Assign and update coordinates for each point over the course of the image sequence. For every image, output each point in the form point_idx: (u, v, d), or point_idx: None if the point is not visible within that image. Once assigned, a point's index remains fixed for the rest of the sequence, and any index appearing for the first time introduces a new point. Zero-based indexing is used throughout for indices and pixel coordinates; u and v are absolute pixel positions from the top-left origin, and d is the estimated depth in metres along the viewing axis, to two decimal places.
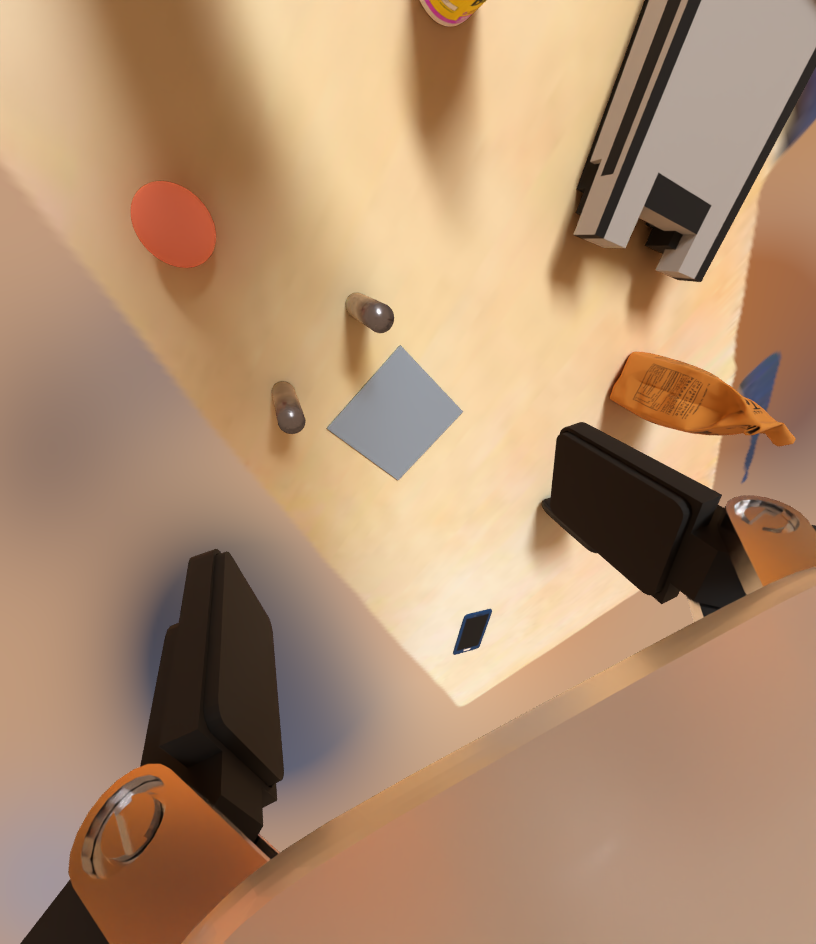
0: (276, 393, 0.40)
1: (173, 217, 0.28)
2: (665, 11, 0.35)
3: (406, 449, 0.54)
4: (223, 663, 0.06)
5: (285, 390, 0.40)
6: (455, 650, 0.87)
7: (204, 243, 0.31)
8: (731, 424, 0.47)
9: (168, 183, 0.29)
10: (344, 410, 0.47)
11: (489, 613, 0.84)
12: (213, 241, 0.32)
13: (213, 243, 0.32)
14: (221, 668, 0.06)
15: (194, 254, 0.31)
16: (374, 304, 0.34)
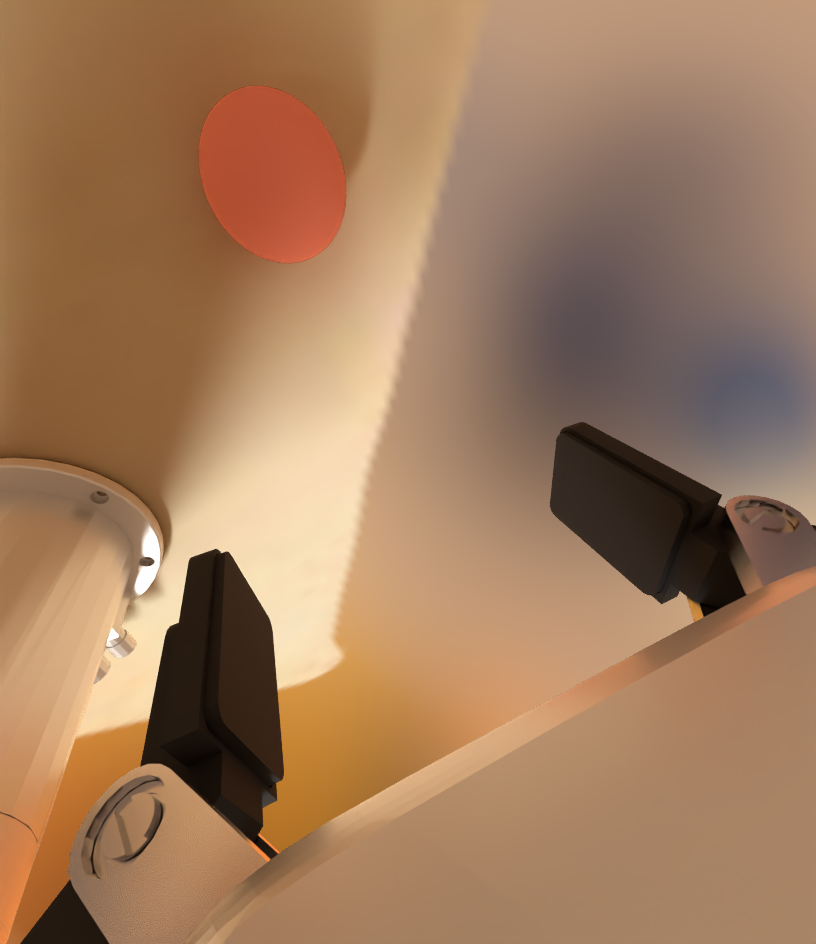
0: None
1: (266, 181, 0.14)
2: None
3: None
4: (223, 663, 0.06)
5: None
6: None
7: (243, 102, 0.13)
8: None
9: (238, 237, 0.16)
10: None
11: None
12: (223, 98, 0.14)
13: (227, 95, 0.14)
14: (221, 668, 0.06)
15: (278, 102, 0.14)
16: None
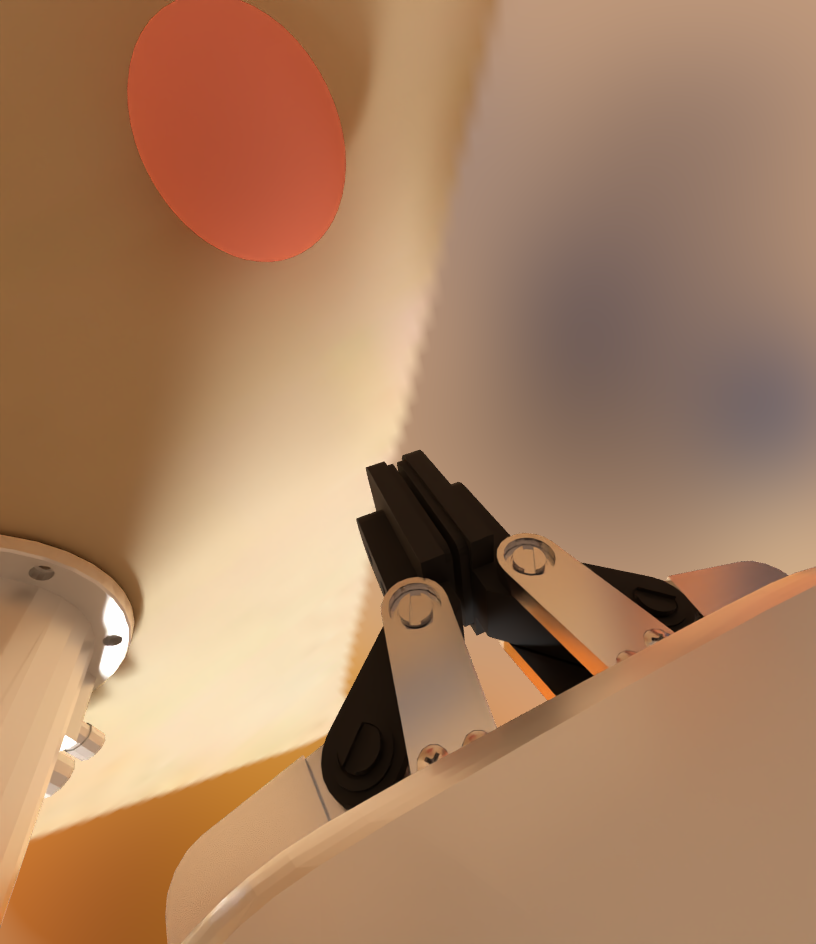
0: None
1: (227, 136, 0.09)
2: None
3: None
4: None
5: None
6: None
7: (185, 12, 0.09)
8: None
9: (195, 226, 0.11)
10: None
11: None
12: (157, 13, 0.09)
13: (163, 8, 0.09)
14: None
15: (240, 13, 0.09)
16: None
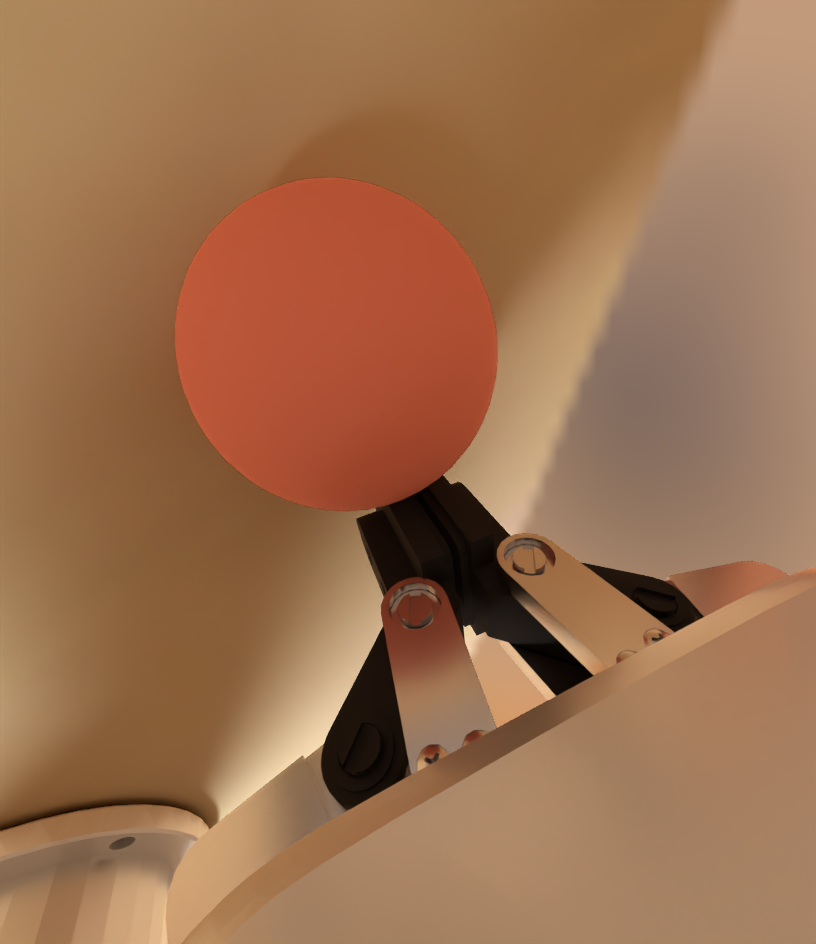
0: None
1: (292, 242, 0.05)
2: None
3: None
4: None
5: None
6: None
7: None
8: None
9: (249, 453, 0.06)
10: None
11: None
12: None
13: None
14: None
15: None
16: None
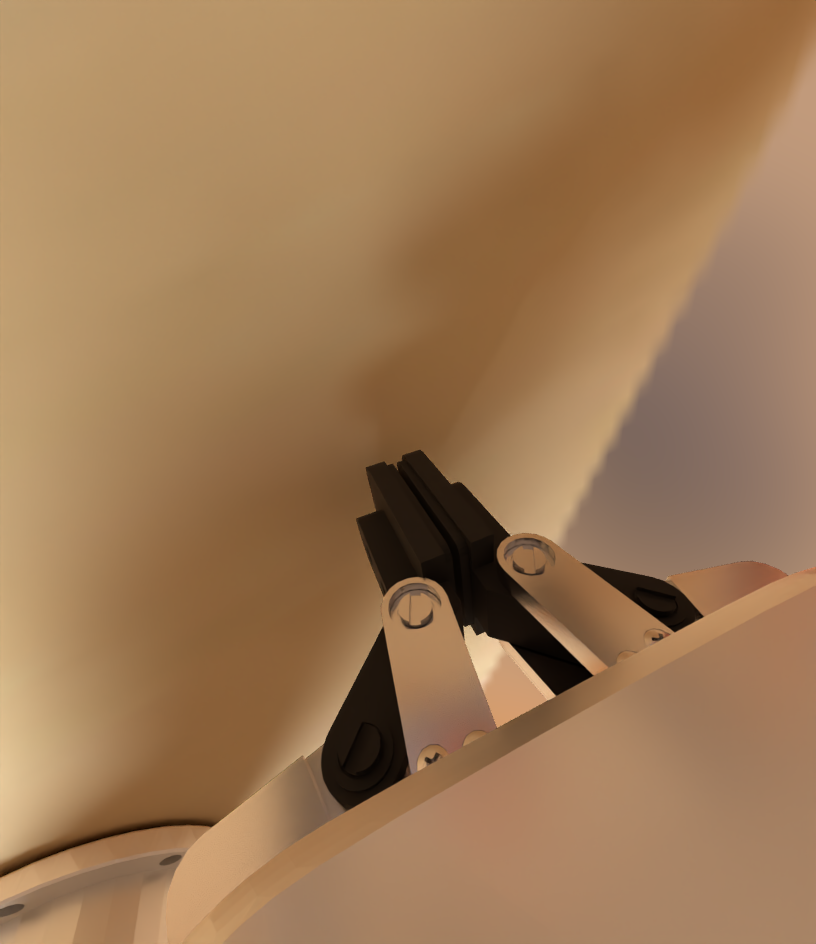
0: None
1: None
2: None
3: None
4: None
5: None
6: None
7: None
8: None
9: None
10: None
11: None
12: None
13: None
14: None
15: None
16: None
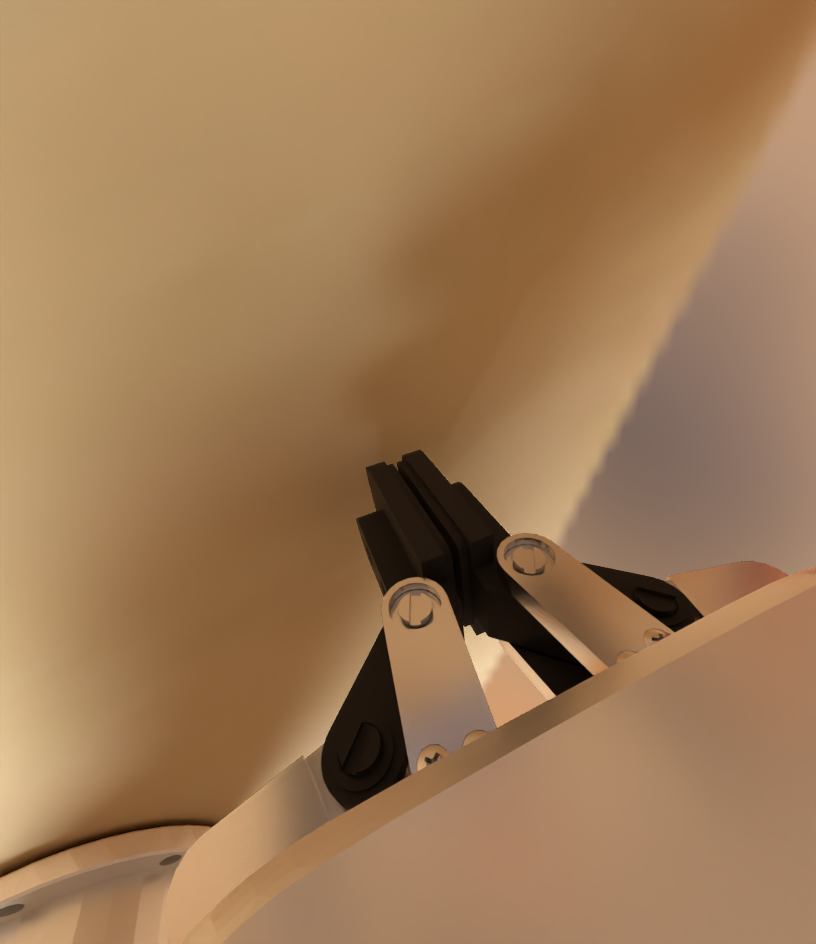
0: None
1: None
2: None
3: None
4: None
5: None
6: None
7: None
8: None
9: None
10: None
11: None
12: None
13: None
14: None
15: None
16: None
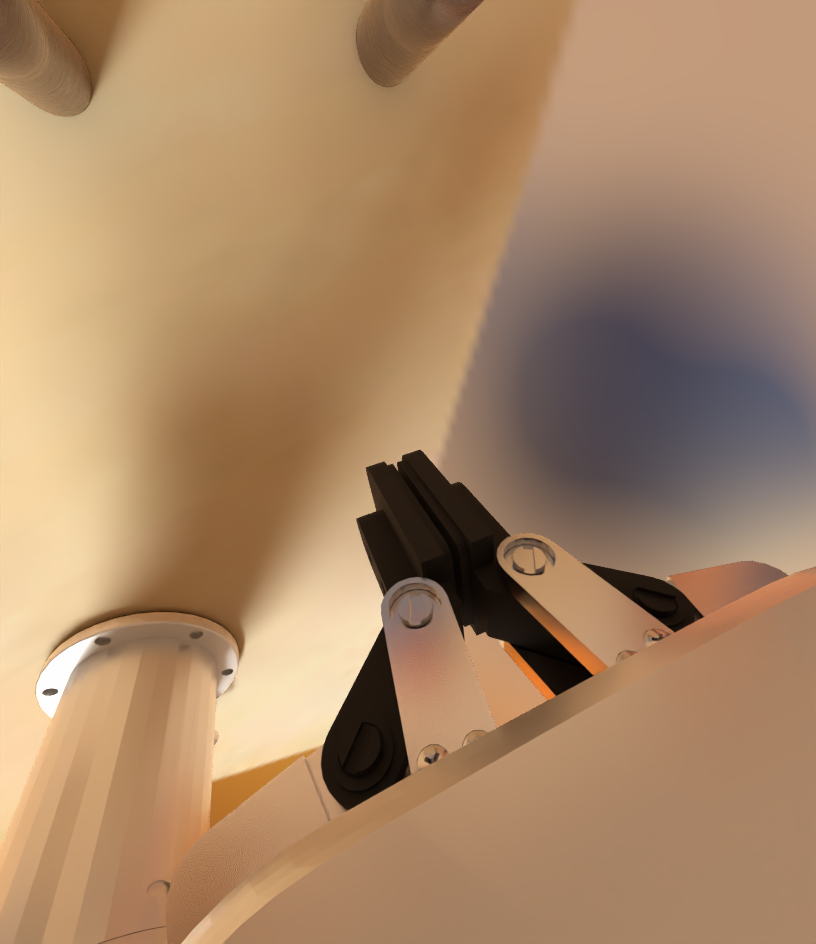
0: (413, 61, 0.15)
1: None
2: None
3: None
4: None
5: (392, 41, 0.14)
6: None
7: None
8: None
9: None
10: None
11: None
12: None
13: None
14: None
15: None
16: None
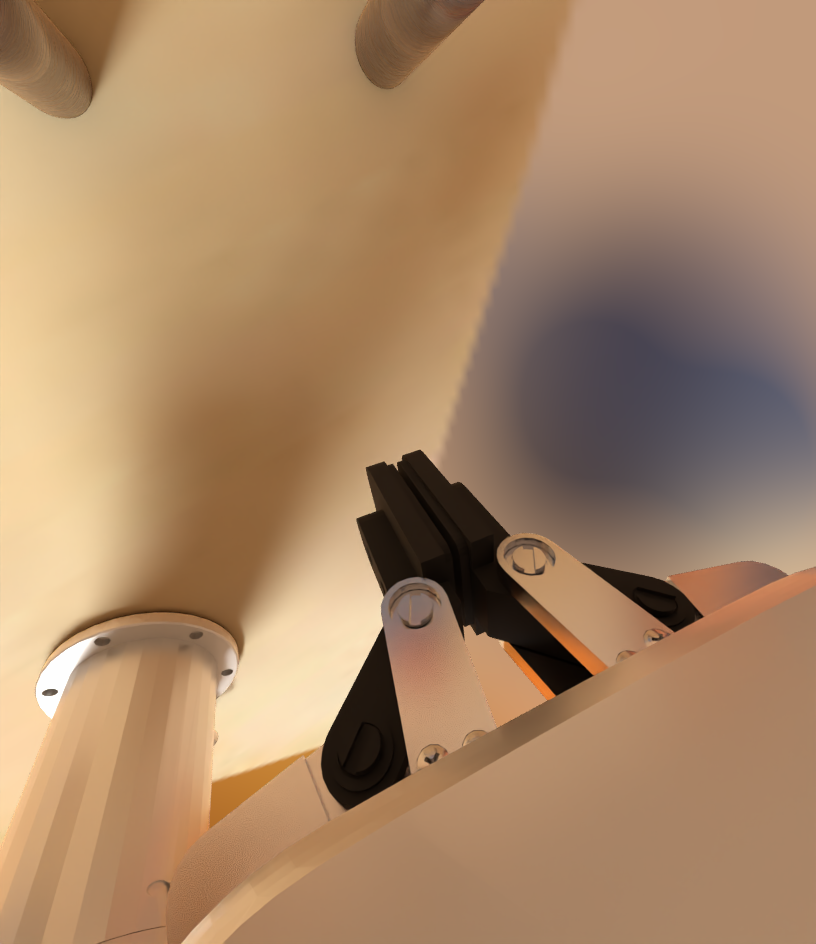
0: (411, 63, 0.15)
1: None
2: None
3: None
4: None
5: (391, 42, 0.14)
6: None
7: None
8: None
9: None
10: None
11: None
12: None
13: None
14: None
15: None
16: None
